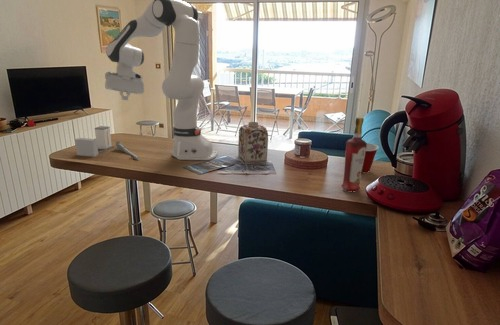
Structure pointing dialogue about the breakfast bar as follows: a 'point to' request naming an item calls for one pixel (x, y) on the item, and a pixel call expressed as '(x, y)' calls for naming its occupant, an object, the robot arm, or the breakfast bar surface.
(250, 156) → the decorative jar
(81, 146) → the grey holder
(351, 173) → the liquor
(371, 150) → the plastic cup
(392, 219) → the breakfast bar surface
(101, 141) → the cream rectangular box
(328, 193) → the breakfast bar surface
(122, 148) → the caliper
